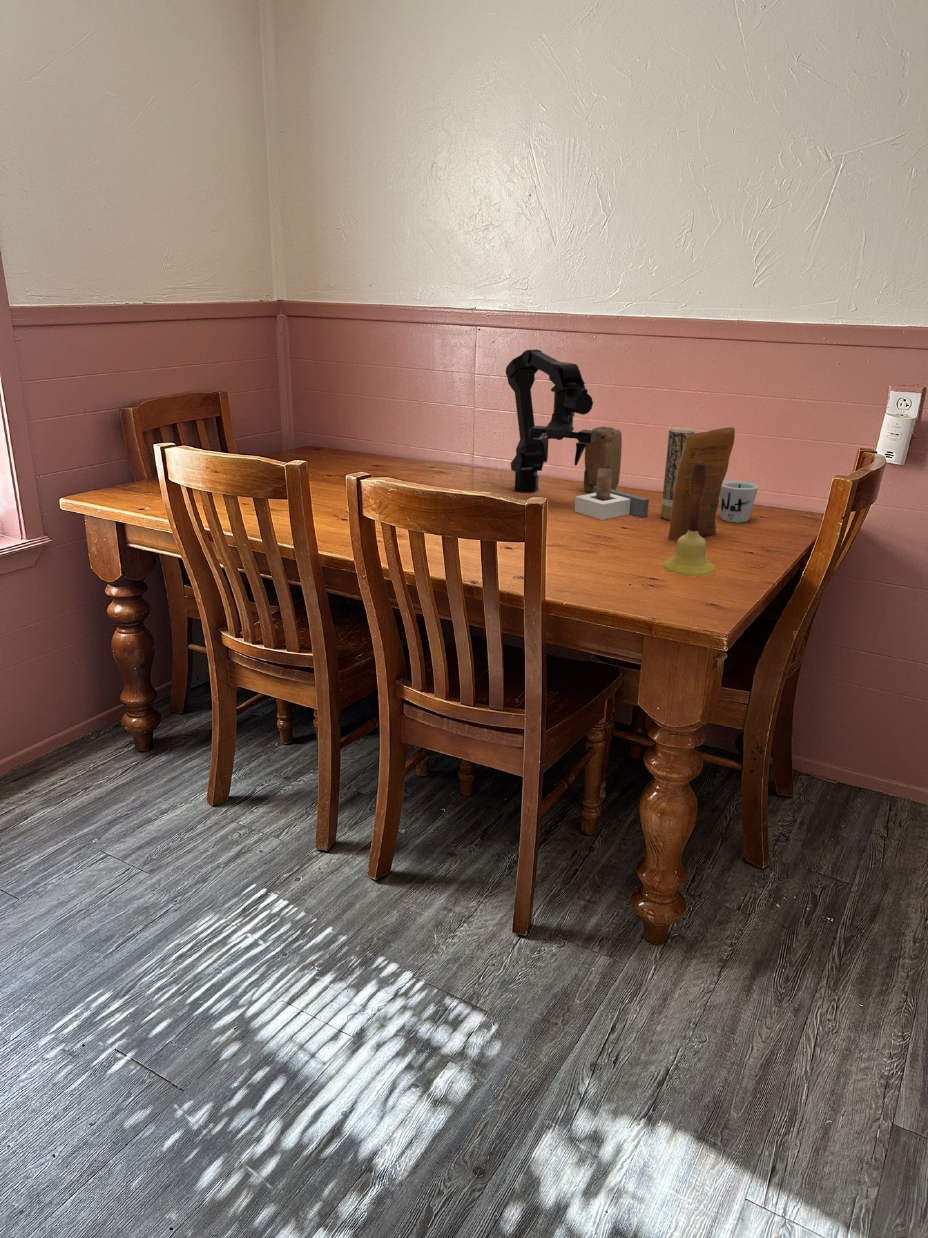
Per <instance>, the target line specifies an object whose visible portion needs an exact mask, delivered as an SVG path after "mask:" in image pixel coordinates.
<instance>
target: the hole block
mask: <svg viewBox="0 0 928 1238" xmlns="http://www.w3.org/2000/svg"><path fill="white" fill-rule="evenodd" d="M574 501H575V502H574V512H575V513H577V512H578V514H580V513H581V515H584V516H588V517H590V518H593V519H596V520H599V521H605V520H609V519H613V518H619V516H620V517H622V516H623V517H624V516H628V515H631V514H630V502H631V499H629V498H625V497H622V496H618V495H614V494H611V493H610V500H606V501H601V500H598V499H596V493H591V492H590V493H587V494H582V495H576V496H575V500H574Z"/></svg>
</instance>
